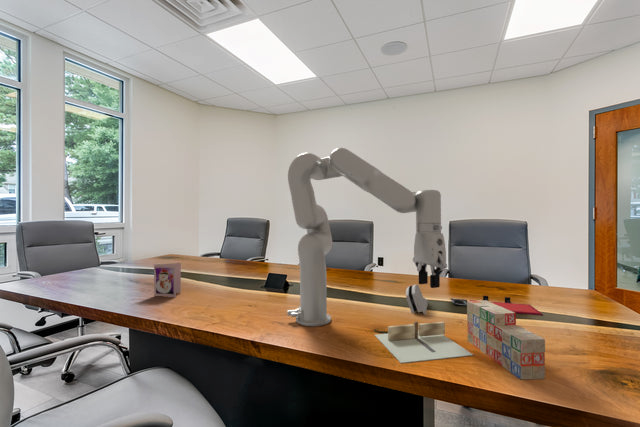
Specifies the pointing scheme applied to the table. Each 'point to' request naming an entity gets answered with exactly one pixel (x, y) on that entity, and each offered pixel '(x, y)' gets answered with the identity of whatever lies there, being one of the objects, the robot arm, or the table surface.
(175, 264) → the greeting card
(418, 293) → the grey piece
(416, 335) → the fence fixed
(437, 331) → the panel
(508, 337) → the stack of blocks
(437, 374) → the table surface
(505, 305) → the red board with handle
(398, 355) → the card
